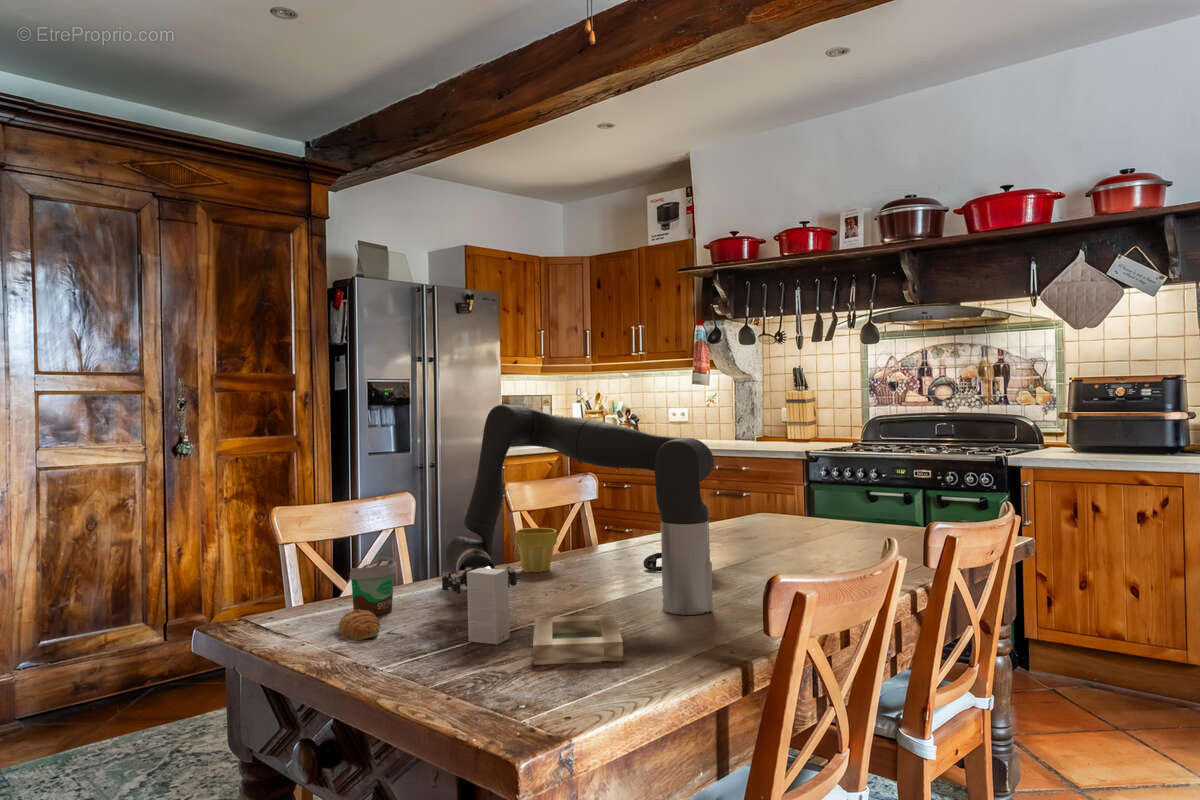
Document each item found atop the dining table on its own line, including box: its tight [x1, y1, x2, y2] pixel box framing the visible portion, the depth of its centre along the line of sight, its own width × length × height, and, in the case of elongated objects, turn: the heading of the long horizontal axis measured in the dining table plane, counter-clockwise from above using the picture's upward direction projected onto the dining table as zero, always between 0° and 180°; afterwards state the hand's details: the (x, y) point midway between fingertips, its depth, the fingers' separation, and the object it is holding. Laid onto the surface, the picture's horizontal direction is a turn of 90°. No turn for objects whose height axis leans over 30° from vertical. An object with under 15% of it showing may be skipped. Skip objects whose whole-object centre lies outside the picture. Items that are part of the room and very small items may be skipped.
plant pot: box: [514, 527, 558, 573], centre depth 192 cm, size 10×10×10 cm
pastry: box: [338, 609, 381, 641], centre depth 140 cm, size 9×7×4 cm
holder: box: [532, 614, 624, 666], centre depth 129 cm, size 14×16×3 cm
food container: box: [349, 556, 398, 618], centre depth 154 cm, size 12×6×10 cm, turn 168°
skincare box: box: [466, 568, 511, 645], centre depth 135 cm, size 6×4×12 cm
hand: (481, 586), depth 145 cm, fingers open, 8 cm apart
